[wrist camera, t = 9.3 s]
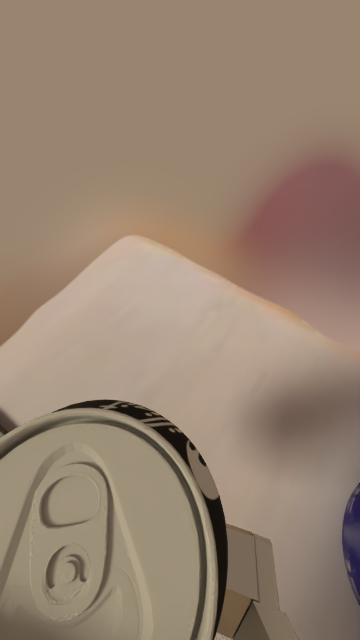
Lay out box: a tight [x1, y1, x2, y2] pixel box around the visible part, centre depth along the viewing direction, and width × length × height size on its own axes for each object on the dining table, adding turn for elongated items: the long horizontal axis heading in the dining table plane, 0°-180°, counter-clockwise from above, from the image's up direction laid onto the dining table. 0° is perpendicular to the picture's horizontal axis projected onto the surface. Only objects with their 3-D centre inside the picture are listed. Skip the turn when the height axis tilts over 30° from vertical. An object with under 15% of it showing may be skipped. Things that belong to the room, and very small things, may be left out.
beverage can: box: [0, 400, 228, 640], centre depth 10 cm, size 7×7×12 cm
